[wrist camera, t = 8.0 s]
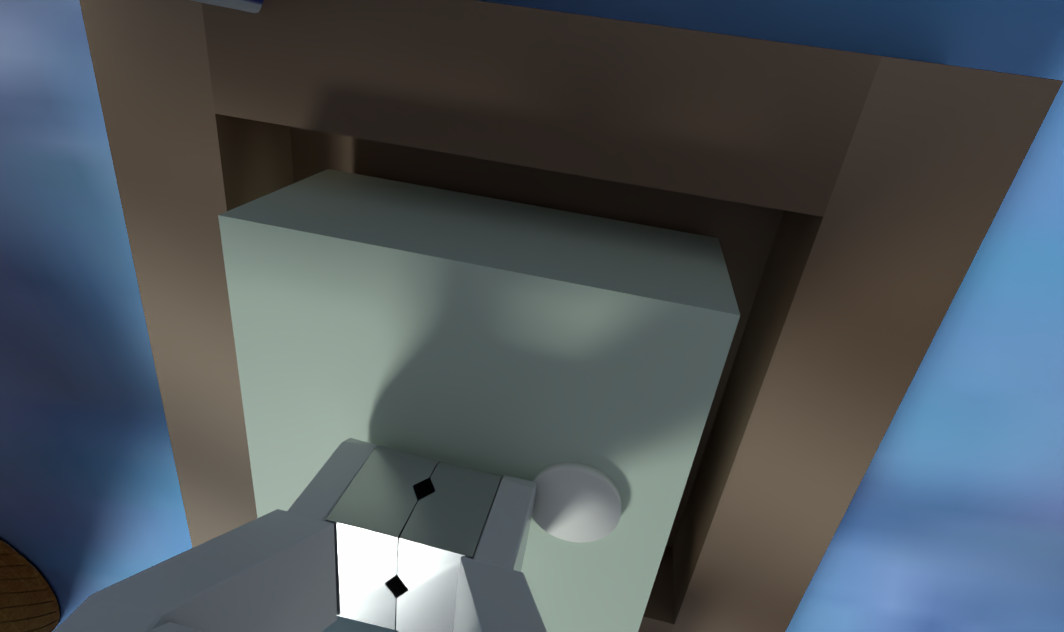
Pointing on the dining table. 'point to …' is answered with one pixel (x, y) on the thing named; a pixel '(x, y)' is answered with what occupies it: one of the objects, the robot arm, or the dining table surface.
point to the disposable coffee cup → (24, 596)
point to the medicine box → (236, 4)
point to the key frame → (592, 189)
